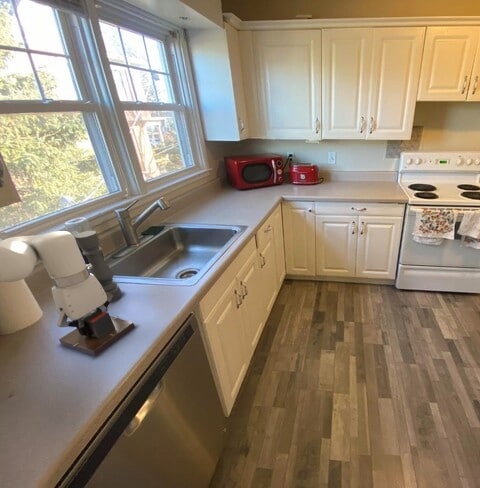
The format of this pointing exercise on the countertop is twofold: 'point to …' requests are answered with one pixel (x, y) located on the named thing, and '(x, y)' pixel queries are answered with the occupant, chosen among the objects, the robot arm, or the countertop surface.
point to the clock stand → (95, 344)
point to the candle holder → (98, 262)
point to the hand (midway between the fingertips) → (96, 328)
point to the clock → (98, 323)
